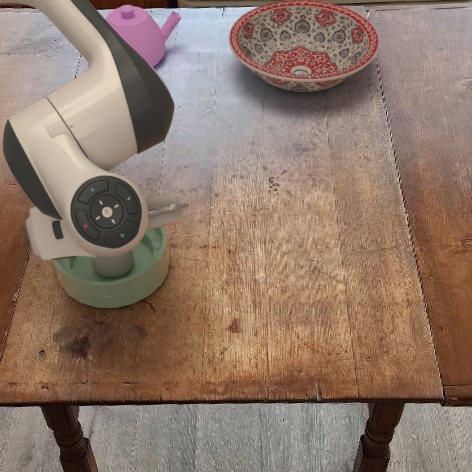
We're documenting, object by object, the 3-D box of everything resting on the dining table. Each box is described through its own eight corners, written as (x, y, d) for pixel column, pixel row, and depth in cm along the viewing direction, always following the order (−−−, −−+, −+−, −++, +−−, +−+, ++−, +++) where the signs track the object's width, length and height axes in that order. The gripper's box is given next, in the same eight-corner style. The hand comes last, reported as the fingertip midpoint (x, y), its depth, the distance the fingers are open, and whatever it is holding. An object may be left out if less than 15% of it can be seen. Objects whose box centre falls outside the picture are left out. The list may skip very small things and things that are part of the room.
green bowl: (49, 310, 101) (40, 283, 96) (69, 229, 111) (61, 201, 106) (164, 312, 101) (161, 285, 96) (173, 230, 111) (170, 202, 106)
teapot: (192, 66, 140) (189, 15, 131) (96, 83, 136) (86, 33, 128) (174, 32, 148) (170, -18, 139) (84, 48, 144) (74, -2, 136)
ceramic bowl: (368, 125, 128) (375, 87, 121) (216, 109, 131) (215, 71, 124) (376, 43, 145) (383, 5, 138) (242, 30, 148) (242, -6, 142)
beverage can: (114, 286, 103) (101, 228, 93) (84, 268, 105) (68, 209, 95) (143, 262, 106) (133, 203, 96) (113, 244, 108) (100, 185, 98)
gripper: (185, 177, 82) (174, 189, 96) (15, 210, 79) (28, 217, 93) (196, 229, 83) (184, 233, 97) (28, 263, 80) (39, 262, 94)
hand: (106, 225), depth 95 cm, fingers open, 8 cm apart
